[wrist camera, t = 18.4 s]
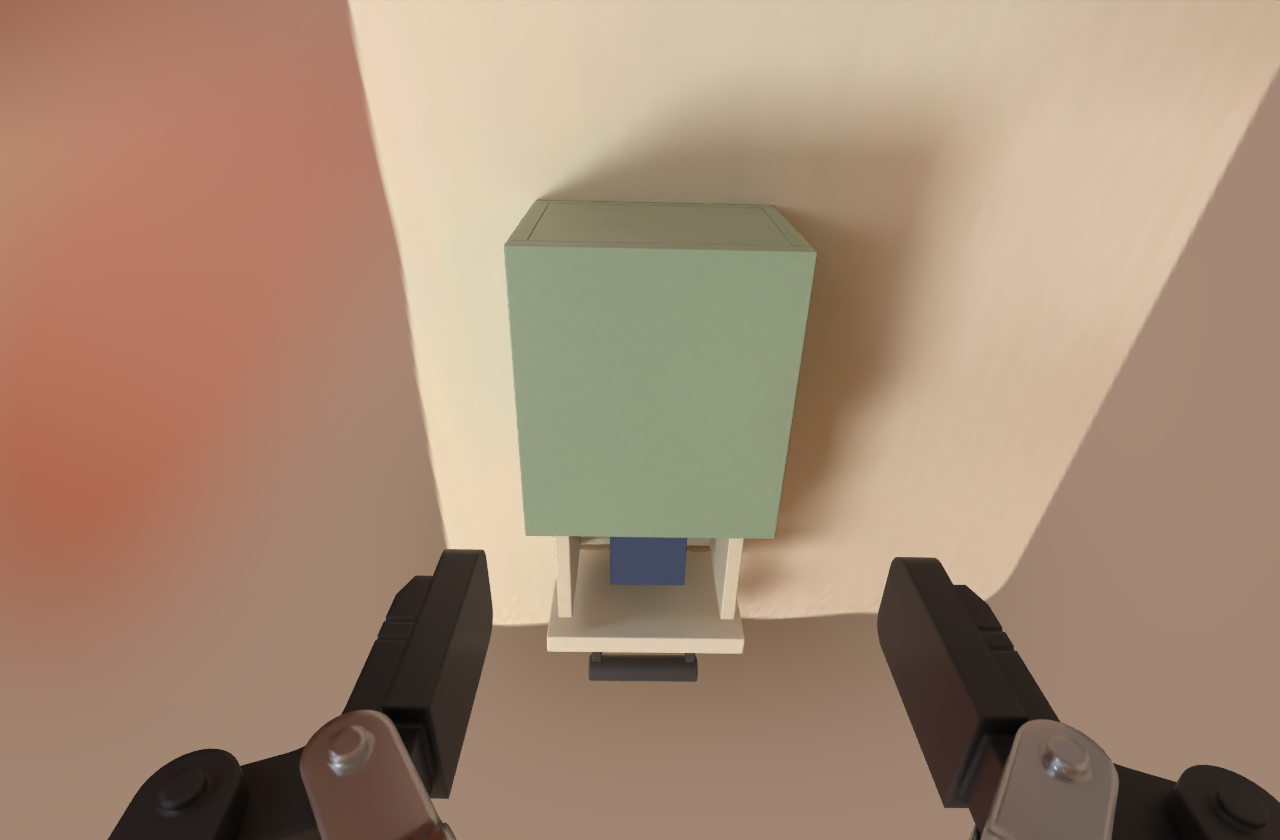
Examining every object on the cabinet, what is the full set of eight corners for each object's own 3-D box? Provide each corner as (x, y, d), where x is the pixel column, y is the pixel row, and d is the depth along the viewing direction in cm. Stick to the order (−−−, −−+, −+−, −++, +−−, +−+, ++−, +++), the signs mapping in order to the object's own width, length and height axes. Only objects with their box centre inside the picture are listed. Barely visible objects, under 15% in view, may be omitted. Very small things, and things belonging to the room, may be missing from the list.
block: (683, 481, 41) (688, 525, 37) (679, 538, 43) (684, 585, 39) (611, 480, 41) (609, 525, 37) (612, 537, 43) (609, 584, 39)
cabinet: (746, 443, 42) (774, 539, 34) (547, 439, 42) (525, 536, 34) (774, 205, 35) (817, 251, 27) (535, 199, 35) (503, 245, 27)
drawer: (720, 622, 48) (734, 715, 42) (563, 620, 48) (551, 714, 41) (746, 387, 39) (769, 457, 32) (552, 384, 39) (535, 453, 32)
